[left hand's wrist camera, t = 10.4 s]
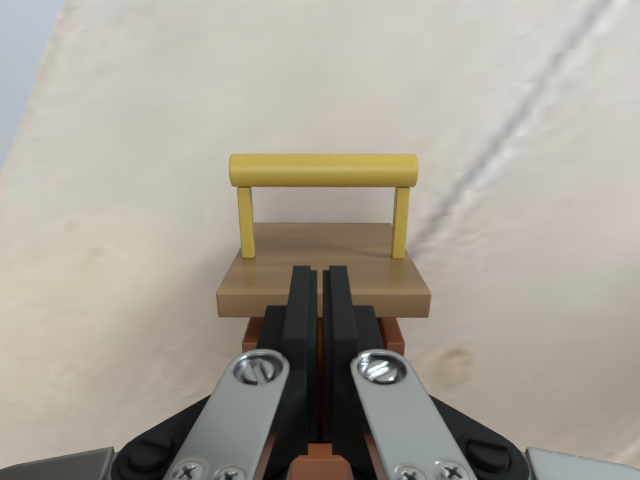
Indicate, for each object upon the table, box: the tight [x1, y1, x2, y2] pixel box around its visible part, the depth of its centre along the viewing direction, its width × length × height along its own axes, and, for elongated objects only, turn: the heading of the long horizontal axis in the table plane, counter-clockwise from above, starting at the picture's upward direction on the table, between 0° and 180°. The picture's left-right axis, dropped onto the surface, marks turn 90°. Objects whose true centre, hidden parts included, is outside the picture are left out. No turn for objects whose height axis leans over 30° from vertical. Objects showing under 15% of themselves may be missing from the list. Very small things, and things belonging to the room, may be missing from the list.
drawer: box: [216, 154, 431, 443], centre depth 23 cm, size 24×9×10 cm, turn 0°
